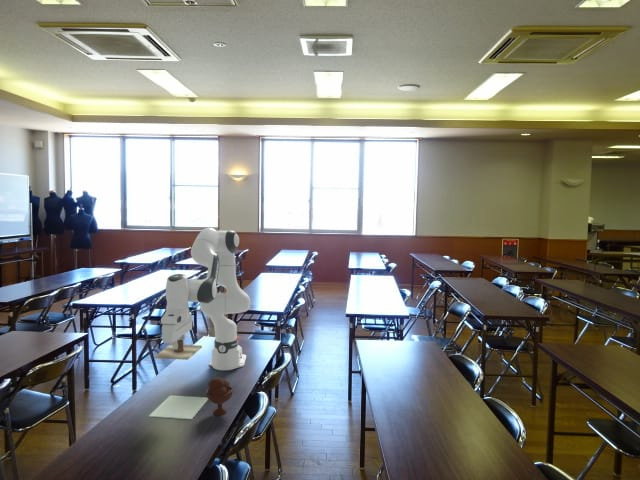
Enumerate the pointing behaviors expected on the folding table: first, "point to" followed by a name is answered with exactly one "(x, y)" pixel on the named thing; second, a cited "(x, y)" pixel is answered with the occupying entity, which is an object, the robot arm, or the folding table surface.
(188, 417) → the lid mat
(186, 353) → the lid
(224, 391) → the ice cream bowl
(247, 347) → the folding table surface
